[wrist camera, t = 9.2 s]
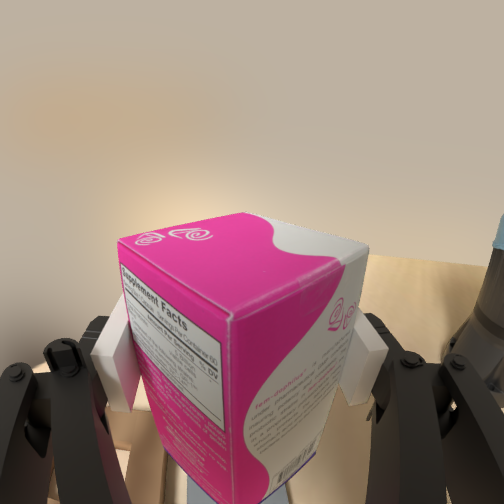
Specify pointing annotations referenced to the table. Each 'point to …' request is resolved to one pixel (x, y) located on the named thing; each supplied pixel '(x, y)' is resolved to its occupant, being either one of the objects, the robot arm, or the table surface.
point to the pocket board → (138, 455)
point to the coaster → (200, 500)
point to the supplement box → (241, 343)
